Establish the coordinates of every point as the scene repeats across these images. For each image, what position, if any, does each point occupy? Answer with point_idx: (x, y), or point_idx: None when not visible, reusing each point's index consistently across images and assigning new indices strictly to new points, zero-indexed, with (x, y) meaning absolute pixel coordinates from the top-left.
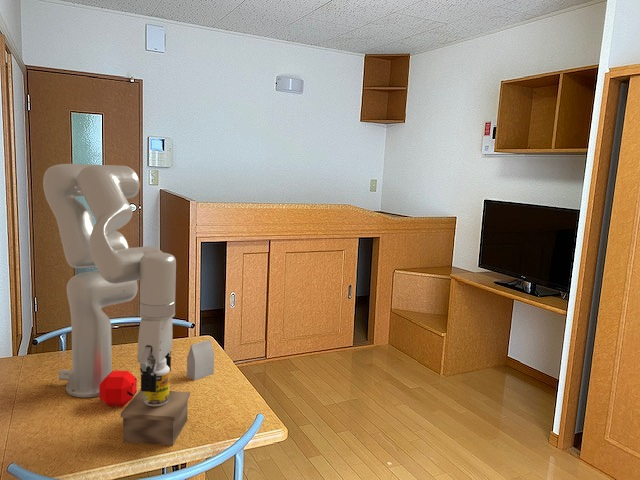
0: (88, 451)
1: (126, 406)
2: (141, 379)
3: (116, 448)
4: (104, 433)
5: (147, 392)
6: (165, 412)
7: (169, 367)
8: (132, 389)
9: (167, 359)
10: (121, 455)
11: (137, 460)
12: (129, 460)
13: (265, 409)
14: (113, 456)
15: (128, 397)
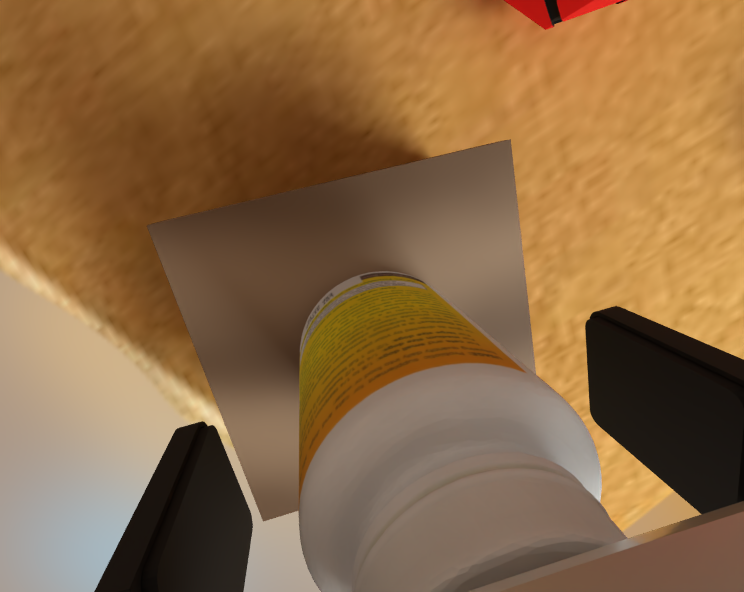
0: (67, 105)
1: (246, 204)
2: (133, 524)
3: (157, 218)
4: (238, 74)
5: (301, 377)
6: (284, 458)
7: (635, 448)
8: (581, 7)
9: (712, 504)
10: (123, 273)
11: (127, 354)
12: (110, 326)
13: None
14: (98, 246)
15: (533, 9)
